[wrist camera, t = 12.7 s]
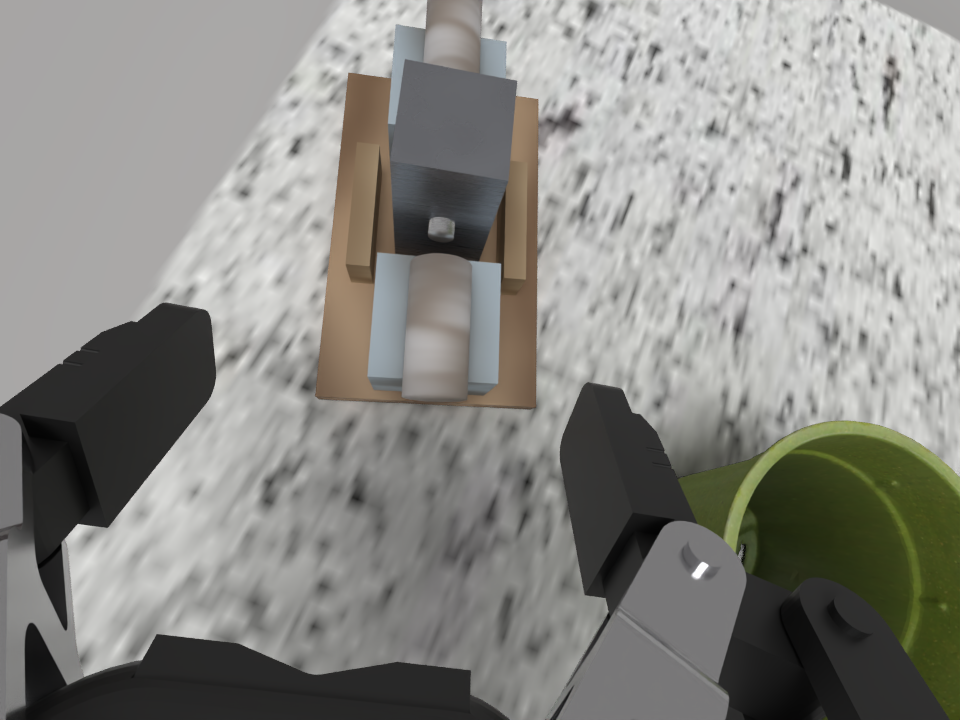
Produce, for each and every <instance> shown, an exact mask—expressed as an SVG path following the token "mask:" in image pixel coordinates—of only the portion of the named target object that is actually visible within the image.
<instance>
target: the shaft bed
mask: <svg viewBox="0 0 960 720" xmlns="http://www.w3.org/2000/svg"><path fill="white" fill-rule="evenodd" d="M481 21H482V0H427V15H426V29H421V28H415V27H408V26H402V25H396V29H395V41H394V54H393V66H392V78H391V79H390V78H383V77H376V76H369V75H362V74H355V73H348V82H347V92H346V101H345V111H344V121H343V131H342V140H341V150H340V160H339V170H338V179H337V189H336V199H335V209H334V218H333V228H332V238H331V248H330V257H329V267H328V277H327V287H326V296H325V306H324V316H323V326H322V335H321V345H320V355H319V365H318V374H317V384H316V394H315V397H317V398H318V399H328V400H349V401H369V402H390V403H411V404H432V405H452V406H473V407H494V408H514V409H533V408H535V407H536V335H537V209H538V99H533V98H526V97H519V96H516V100H515V111H514V123H513V135H512V146H511V158H510V170H509V181H508V184H507V186H506V189H505V192H504V195H503V197H502V200H501V203H500V205H499V208H498V211H497V214H496V216H495V219H494V222H493V224H492V227H491V230H490V233H489V235H488V238H487V241H486V243H485V246H484V249H483V252H482V254H481V257H480V260H479V262H477V261H467V260H466V259H464V258H461V257H458V256H455V255H450V254H443V253H430V254H423V255H420V256H411V255H400V254H395V242H394V224H393V206H392V188H391V170H390V157H391V150H392V144H393V137H394V130H395V123H396V116H397V109H398V102H399V96H400V89H401V82H402V75H403V68H404V61H405V59H408V60H413V61H418V62H423V63H428V64H433V65H439V66H444V67H449V68H454V69H459V70H464V71H469V72H474V73H479V74H484V75H489V76H495V77H500V78H505V79H506V42H505V41H498V40H492V39H485V38H481Z"/></svg>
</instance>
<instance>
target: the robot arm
mask: <svg viewBox="0 0 960 720" xmlns="http://www.w3.org/2000/svg"><path fill="white" fill-rule="evenodd" d="M215 380H216V366H215V356H214V346H213V335H212V325H211V318H210V315H209V313H208V312H207V311H206V310H203V309H198V308H193V307H187V306H182V305H177V304H171V303H162V304H160V305H158V306H157V307H156V308H155V309H153V310H152V311H151V312H149V313H148V314H147V315H146V316H144V317H143V318H142V319H140V320H139V321H138V322H132V321H130V322H127V323H125V324H122V325H119V326H117V327H114V328H112V329H109V330H107V331H104V332H101V333H100V334H99V335H97V336H96V337H95V338H93V339H92V340H91V341H89V342H88V343H86V344H85V345H84V346H82V347H81V350H80V351H76V352H74V353H73V354H71V355H70V356H69V357H67V358H66V359H65V360H64V361H63V364H58V365H57V366H55V367H54V368H52V369H51V370H50V371H48V372H47V373H46V374H44V375H43V376H42V377H40V378H39V379H38V380H36V381H35V382H34V383H32V384H31V385H29V386H28V387H27V388H25V389H24V390H22V391H21V392H20V393H18V394H17V395H16V396H14V397H13V398H12V399H10V400H9V401H8V402H6V403H5V404H3V405H2V406H1V407H0V720H510V719H509V718H507V717H506V716H505V715H504V714H502V713H501V712H500V711H499V710H497V709H496V708H494V707H493V706H491V705H489V704H488V703H486V702H484V701H483V700H481V699H479V698H477V697H474V696H472V695H470V677H471V670H462V669H453V668H445V667H436V666H427V665H419V664H410V663H401V662H395V663H389V664H383V665H377V666H371V667H365V668H358V669H352V670H346V671H340V672H334V673H328V674H322V675H312V674H308V673H305V672H302V671H300V670H298V669H296V668H293V667H291V666H289V665H286V664H284V663H282V662H279V661H277V660H275V659H272V658H270V657H268V656H266V655H263V654H261V653H259V652H256V651H254V650H252V649H249V648H247V647H245V646H242V645H240V644H237V643H229V642H220V641H211V640H203V639H194V638H185V637H177V636H168V635H160V634H157V635H156V637H155V639H154V640H153V642H152V644H151V646H150V647H149V649H148V651H147V653H146V655H145V656H144V658H143V660H140V661H134V662H130V663H126V664H123V665H119V666H115V667H111V668H108V669H105V670H103V671H100V672H97V673H94V674H92V675H89V676H86V677H84V674H83V670H82V667H81V663H80V659H79V655H78V650H77V644H76V635H75V624H74V612H73V600H72V589H71V577H70V566H69V554H68V547H67V543H66V541H65V538H66V537H67V536H68V534H69V533H70V532H71V531H72V530H73V529H74V527H75V526H76V525H77V524H83V525H90V526H98V527H105V528H108V527H109V526H110V524H111V523H112V522H113V521H114V519H115V518H116V517H117V515H118V514H119V513H120V512H121V510H122V509H123V508H124V507H125V505H126V504H127V503H128V502H129V500H130V499H131V498H132V496H133V495H134V494H135V493H136V491H137V490H138V489H139V488H140V486H141V485H142V484H143V483H144V481H145V480H146V479H147V478H148V476H149V475H150V474H151V472H152V471H153V470H154V469H155V467H156V466H157V465H158V464H159V462H160V461H161V460H162V459H163V457H164V456H165V455H166V453H167V452H168V451H169V450H170V448H171V447H172V446H173V445H174V443H175V442H176V441H177V440H178V438H179V437H180V436H181V435H182V433H183V432H184V431H185V429H186V428H187V427H188V426H189V424H190V423H191V422H192V421H193V419H194V418H195V417H196V416H197V414H198V413H199V412H200V410H201V409H202V408H203V407H204V405H205V404H206V403H207V401H208V400H209V398H210V397H211V394H212V392H213V389H214V386H215ZM664 451H665V450H664V448H663V446H662V443H661V441H660V439H659V437H658V434H657V432H656V431H655V430H654V429H653V428H652V427H651V426H650V425H649V423H648V422H647V421H646V420H645V419H644V418H643V417H642V416H641V415H640V414H634V413H632V412H631V409H630V407H629V404H628V402H627V399H626V397H625V394H624V392H623V390H622V389H620V388H616V387H611V386H606V385H600V384H595V383H589V382H588V383H586V384H585V385H584V386H583V388H582V390H581V392H580V394H579V397H578V399H577V402H576V404H575V407H574V409H573V412H572V414H571V416H570V419H569V421H568V424H567V426H566V429H565V431H564V434H563V437H562V441H561V446H560V463H561V468H562V474H563V479H564V485H565V490H566V496H567V501H568V506H569V512H570V517H571V523H572V528H573V534H574V539H575V545H576V550H577V555H578V561H579V566H580V572H581V577H582V583H583V588H584V594H585V595H588V596H595V597H602V598H606V601H607V606H608V610H609V612H608V613H607V615H606V616H605V618H604V619H603V621H602V623H601V624H600V626H599V628H598V630H597V631H596V633H595V635H594V637H593V638H592V640H591V642H590V644H589V645H588V647H587V649H586V651H585V652H584V654H583V656H582V658H581V659H580V661H579V663H578V665H577V666H576V668H575V670H574V672H573V673H572V675H571V677H570V679H569V680H568V682H567V684H566V686H565V687H564V689H563V691H562V693H561V694H560V696H559V698H558V699H557V701H556V703H555V705H554V706H553V708H552V709H551V711H550V713H549V714H548V716H547V718H546V719H545V720H822V719H823V718H825V717H826V716H827V719H828V720H950V719H949V718H948V716H947V714H946V713H945V711H944V710H943V708H942V707H941V705H940V704H939V702H938V701H937V699H936V698H935V696H934V695H933V693H932V692H931V690H930V688H929V687H928V685H927V684H926V682H925V681H924V679H923V678H922V676H921V675H920V673H919V672H918V670H917V669H916V667H915V665H914V664H913V662H912V661H911V659H910V658H909V656H908V655H907V653H906V652H905V650H904V649H903V647H902V646H901V644H900V643H899V641H898V639H897V638H896V636H895V635H894V633H893V632H892V630H891V629H890V627H889V626H888V625H887V623H886V622H885V620H884V619H883V618H882V617H881V616H880V615H879V613H878V612H877V611H876V610H875V609H874V608H873V607H872V606H871V605H869V604H868V603H867V602H866V601H865V600H864V599H862V598H861V597H860V596H858V595H857V594H856V593H854V592H853V591H851V590H849V589H848V588H846V587H844V586H842V585H840V584H839V583H836V582H834V581H831V580H828V579H824V578H817V577H816V578H809V579H806V580H805V581H804V582H802V583H801V584H800V585H799V586H798V587H797V588H796V589H795V590H794V592H791V591H789V590H786V589H784V588H782V587H779V586H777V585H775V584H772V583H770V582H768V581H765V580H763V579H761V578H758V577H756V576H754V575H752V574H749V573H747V572H745V570H744V567H743V565H742V563H741V561H740V559H739V557H738V556H737V554H736V553H735V552H734V550H733V549H732V548H731V547H730V546H729V545H728V544H727V543H726V542H725V541H724V540H723V539H722V538H720V537H719V536H718V535H716V534H715V533H714V532H712V531H710V530H709V529H707V528H705V527H703V526H700V525H698V523H697V521H696V519H695V517H694V514H693V512H692V510H691V508H690V506H689V503H688V501H687V499H686V497H685V494H684V492H683V490H682V488H681V486H680V483H679V481H678V479H677V477H676V474H675V472H674V470H673V469H671V463H670V461H669V459H668V457H667V454H664Z"/></svg>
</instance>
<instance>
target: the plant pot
mask: <svg viewBox="0 0 960 720" xmlns="http://www.w3.org/2000/svg"><path fill="white" fill-rule="evenodd" d="M678 481H679V483H680V486H681V488H682V490H683V492H684V494H685V497H686V499H687V501H688V503H689V506H690V508H691V510H692V512H693V514H694V517H695V519H696V521H697V523H698V525H700V526H703V527H705V528H707V529H709V530H710V531H712V532H714V533H715V534H716V535H718V536H719V537H720V538H722V539H723V540H724V541H725V542H726V543H727V544H728V545H729V546H730V547H731V548H732V549H733V550H734V552H735V553H736V554H737V556H738V554H739V551H740V550H741V541H742V544H745V545H746V552H745V558H744V561H743V564H742V565H743V567H744V570H745V572H747V573H749V574H752V575H754V576H756V577H758V578H761V579H763V580H765V581H768V582H770V583H772V584H775V585H777V586H779V587H782V588H784V589H786V590H789V591H791V592H794V590H795V589H796V588H797V587H798V586H799V585H800V584H801V583H802V582H804V581H805V580H806V579H809V578H816V577H817V578H824V579H828V580H831V581H834V582H836V583H839V584H840V585H842V586H844V587H846V588H848V589H849V590H851V591H853V592H854V593H856V594H857V595H858V596H860V597H861V598H862V599H864V600H865V601H866V602H867V603H868V604H869V605H871V606H872V607H873V608H874V609H875V610H876V611H877V612H878V613H879V615H880V616H881V617H882V618H883V619H884V620H885V622H886V623H887V625H888V626H889V627H890V629H891V630H892V632H893V633H894V635H895V636H896V638H897V639H898V641H899V643H900V644H901V646H902V647H903V649H904V650H905V652H906V653H907V655H908V656H909V658H910V659H911V661H912V662H913V664H914V665H915V667H916V669H917V670H918V672H919V673H920V675H921V676H922V678H923V679H924V681H925V682H926V684H927V685H928V687H929V688H930V690H931V692H932V693H933V695H934V696H935V698H936V699H937V701H938V702H939V704H940V705H941V707H942V708H943V710H944V711H945V713H946V714H947V716H948V718H949V719H950V720H960V477H959V476H958V475H957V474H956V473H955V472H954V471H953V470H952V469H951V468H950V467H949V466H948V465H947V464H945V463H944V462H943V461H942V460H941V459H940V458H939V457H938V456H936V455H935V454H933V453H932V452H931V451H929V450H928V449H926V448H925V447H924V446H922V445H921V444H920V443H918V442H916V441H915V440H913V439H911V438H909V437H907V436H905V435H903V434H900V433H898V432H896V431H894V430H891V429H889V428H886V427H883V426H880V425H875V424H870V423H864V422H856V421H830V422H823V423H818V424H814V425H811V426H807V427H804V428H802V429H800V430H797V431H795V432H793V433H791V434H789V435H787V436H786V437H784V438H782V439H780V440H779V441H777V442H776V443H775V444H774V445H772V446H771V447H770V448H768V449H767V450H766V451H765V452H763V453H761V454H759V455H757V456H755V457H753V458H752V459H750V460H747V461H743V462H739V463H735V464H731V465H727V466H724V467H720V468H716V469H712V470H708V471H704V472H700V473H696V474H692V475H688V476H685V477H681V478H679V479H678ZM822 720H828V719H827V716H826V717H825V718H823V719H822Z"/></svg>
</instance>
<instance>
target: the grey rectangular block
mask: <svg viewBox="0 0 960 720" xmlns="http://www.w3.org/2000/svg"><path fill="white" fill-rule="evenodd" d="M516 88H517V81H515V80H510V79H505V78H500V77H495V76H489V75H484V74H479V73H474V72H469V71H464V70H459V69H454V68H449V67H444V66H439V65H433V64H428V63H423V62H418V61H413V60H408V59H405V61H404V68H403V75H402V82H401V89H400V96H399V102H398V109H397V116H396V123H395V130H394V137H393V144H392V150H391V157H390V170H391V188H392V206H393V224H394V242H395V254H400V255H411V256H420V255H423V254H430V253H443V254H450V255H455V256H458V257H461V258H464V259H466V260H467V261H477V262H479V260H480V257H481V254H482V252H483V249H484V246H485V243H486V241H487V238H488V235H489V233H490V230H491V227H492V224H493V222H494V219H495V216H496V214H497V211H498V208H499V205H500V203H501V200H502V197H503V195H504V192H505V189H506V186H507V184H508V181H509V170H510V158H511V146H512V135H513V123H514V111H515V100H516Z"/></svg>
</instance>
